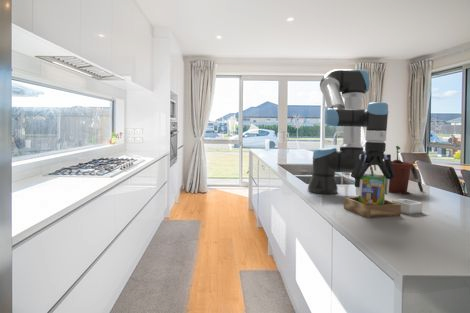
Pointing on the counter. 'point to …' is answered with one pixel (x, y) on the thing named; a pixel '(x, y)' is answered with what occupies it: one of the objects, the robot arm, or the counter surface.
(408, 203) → the white tub
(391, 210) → the crate
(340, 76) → the robot arm
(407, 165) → the potted plant
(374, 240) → the counter surface
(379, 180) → the chalk box
